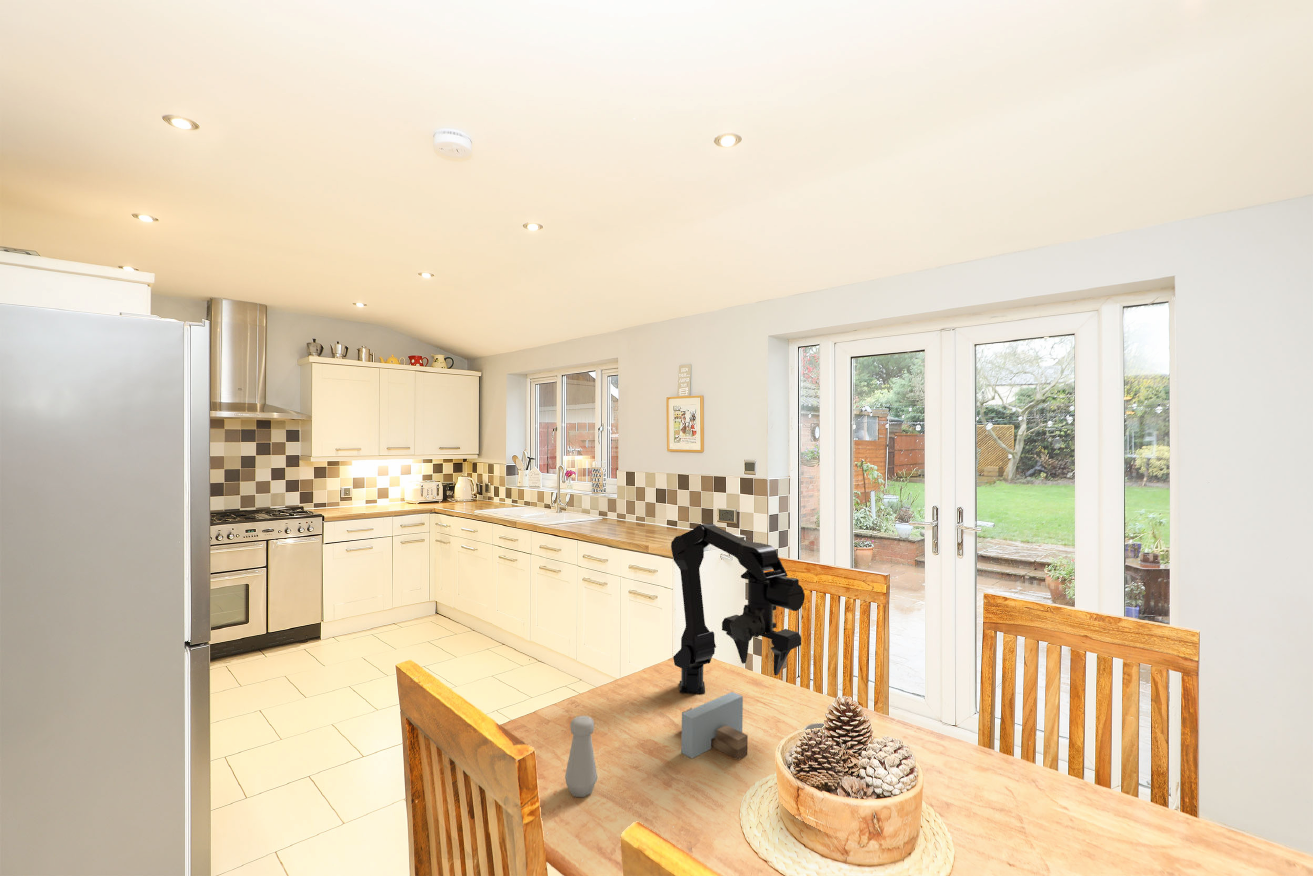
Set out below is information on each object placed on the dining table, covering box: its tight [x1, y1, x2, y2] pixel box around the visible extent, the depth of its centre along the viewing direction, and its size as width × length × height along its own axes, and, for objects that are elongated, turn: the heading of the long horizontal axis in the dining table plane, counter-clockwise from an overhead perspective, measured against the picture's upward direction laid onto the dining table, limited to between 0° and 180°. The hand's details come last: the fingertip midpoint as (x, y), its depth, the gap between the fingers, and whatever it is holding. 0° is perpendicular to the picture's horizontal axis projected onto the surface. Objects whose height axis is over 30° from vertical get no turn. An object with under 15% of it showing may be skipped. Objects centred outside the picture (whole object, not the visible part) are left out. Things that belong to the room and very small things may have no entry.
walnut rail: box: [681, 707, 749, 761], centre depth 123 cm, size 16×3×4 cm, turn 43°
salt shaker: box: [564, 715, 598, 798], centre depth 106 cm, size 6×6×13 cm
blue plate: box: [680, 691, 744, 759], centre depth 123 cm, size 16×3×8 cm, turn 133°
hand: (759, 669), depth 133 cm, fingers open, 9 cm apart
